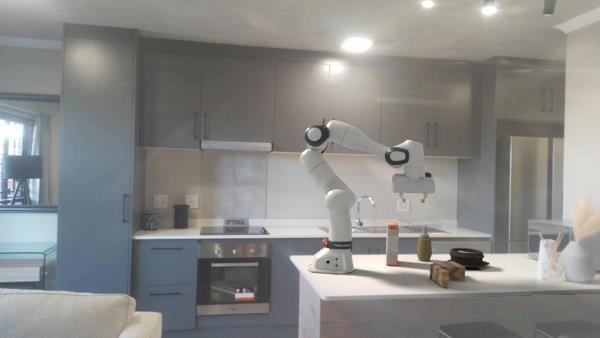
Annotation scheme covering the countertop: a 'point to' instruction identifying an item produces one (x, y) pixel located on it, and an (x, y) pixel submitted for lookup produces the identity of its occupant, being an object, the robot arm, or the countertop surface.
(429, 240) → the squeeze bottle
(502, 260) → the countertop surface
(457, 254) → the casserole
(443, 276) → the stool leg
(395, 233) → the cracker box
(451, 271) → the stool seat
